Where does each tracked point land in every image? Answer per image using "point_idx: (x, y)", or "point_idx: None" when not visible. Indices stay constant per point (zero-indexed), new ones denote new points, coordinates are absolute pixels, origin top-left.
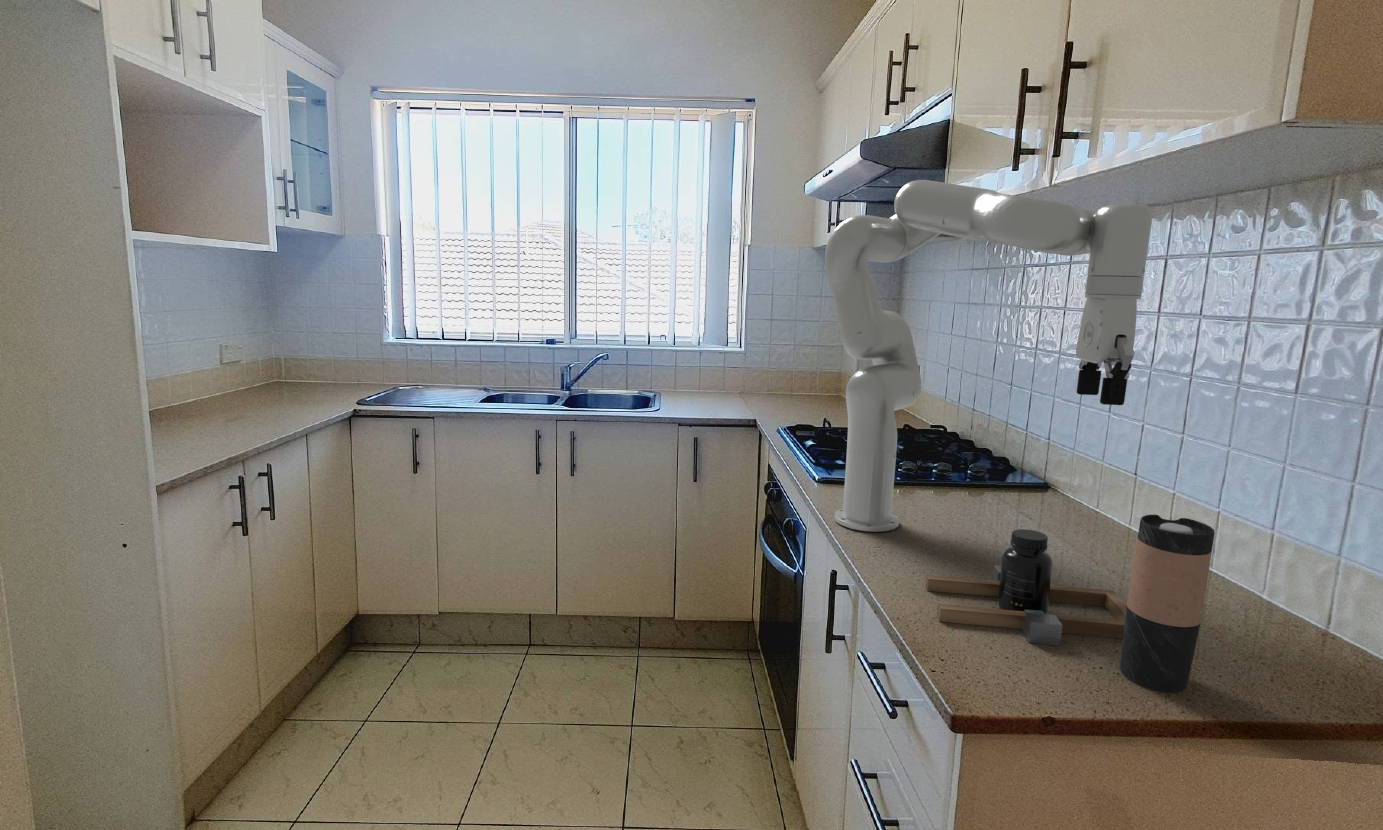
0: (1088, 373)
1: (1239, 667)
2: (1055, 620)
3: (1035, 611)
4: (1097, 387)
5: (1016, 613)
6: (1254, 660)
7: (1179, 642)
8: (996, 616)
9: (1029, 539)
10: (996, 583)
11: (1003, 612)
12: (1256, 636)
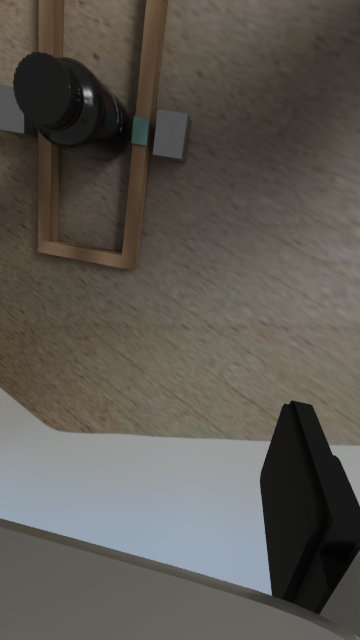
0: (296, 539)
1: (10, 306)
2: (8, 125)
3: None
4: (265, 503)
5: None
6: (26, 330)
7: None
8: None
9: (15, 75)
10: (140, 100)
11: None
12: (75, 367)
